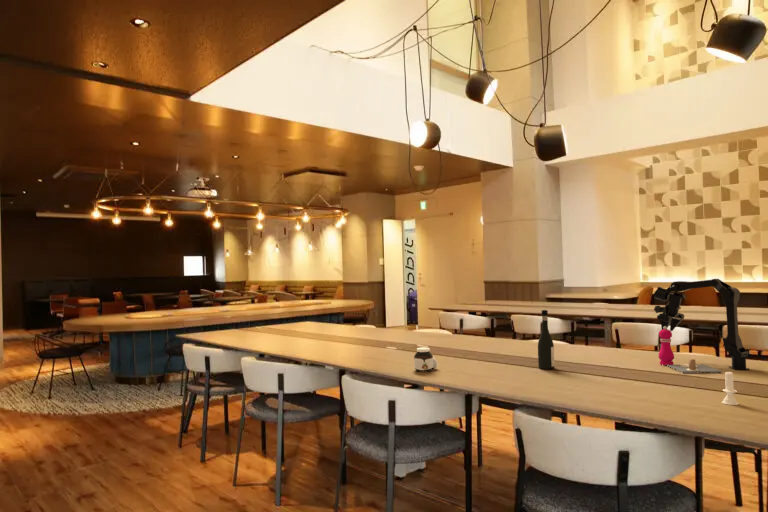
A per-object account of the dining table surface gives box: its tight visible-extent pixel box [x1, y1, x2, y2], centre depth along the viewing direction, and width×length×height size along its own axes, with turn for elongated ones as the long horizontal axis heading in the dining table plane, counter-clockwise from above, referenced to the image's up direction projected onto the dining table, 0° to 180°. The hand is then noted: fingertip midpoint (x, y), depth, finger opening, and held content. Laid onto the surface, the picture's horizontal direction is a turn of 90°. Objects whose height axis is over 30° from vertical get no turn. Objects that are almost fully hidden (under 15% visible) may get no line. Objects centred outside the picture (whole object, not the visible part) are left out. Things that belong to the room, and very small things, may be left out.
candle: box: [721, 371, 739, 406], centre depth 200 cm, size 5×5×12 cm
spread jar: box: [413, 346, 439, 372], centre depth 279 cm, size 12×11×12 cm
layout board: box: [666, 358, 723, 374], centre depth 261 cm, size 17×18×6 cm
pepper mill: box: [658, 326, 675, 365], centre depth 275 cm, size 7×7×20 cm
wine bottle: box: [537, 309, 555, 370], centre depth 275 cm, size 8×8×30 cm
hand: (667, 331), depth 288 cm, fingers open, 9 cm apart
